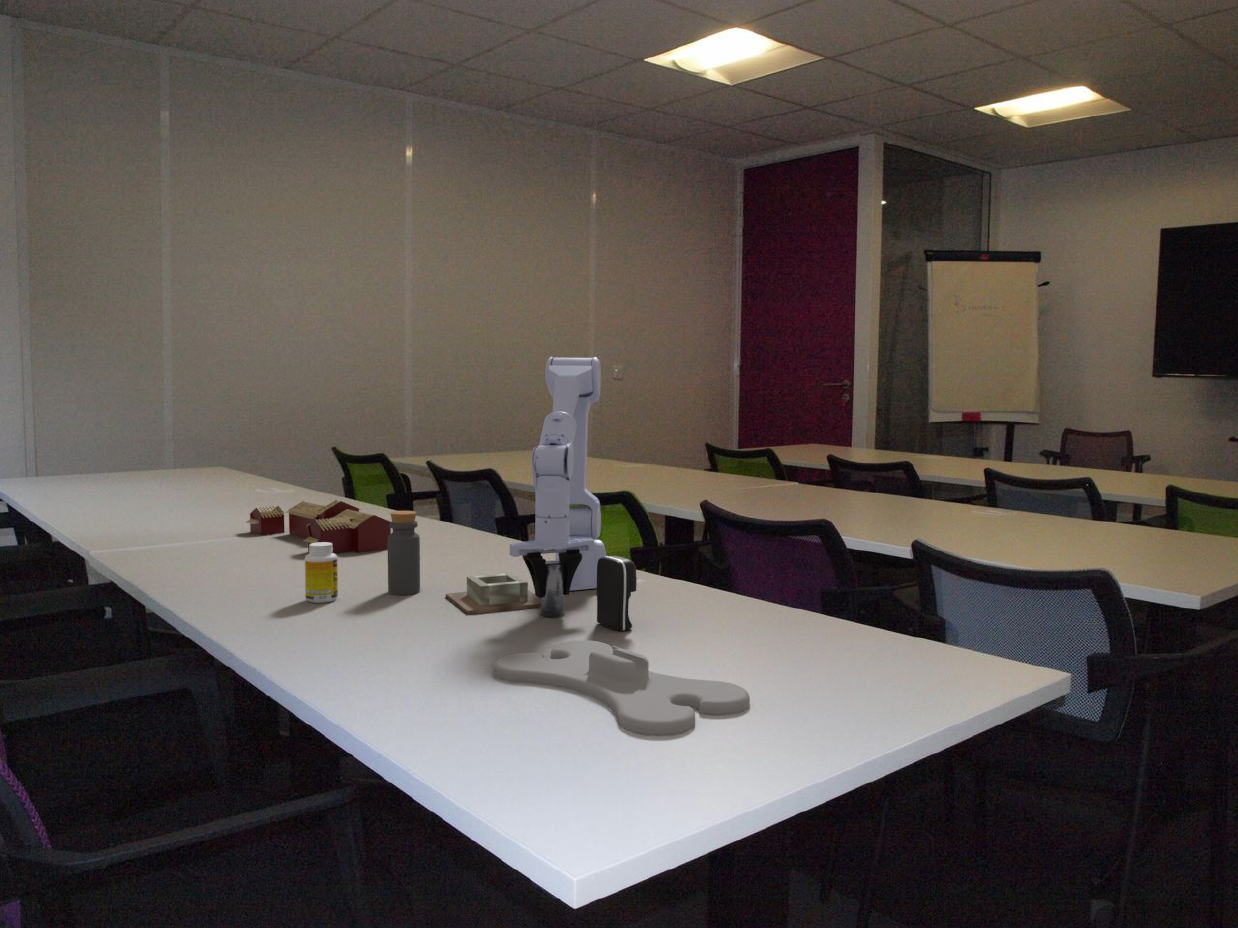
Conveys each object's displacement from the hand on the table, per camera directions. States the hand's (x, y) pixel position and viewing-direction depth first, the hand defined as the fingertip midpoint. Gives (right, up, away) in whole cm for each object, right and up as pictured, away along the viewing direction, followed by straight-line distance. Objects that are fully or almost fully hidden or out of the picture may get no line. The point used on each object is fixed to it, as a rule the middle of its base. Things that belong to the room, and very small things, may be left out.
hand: (552, 595), depth 160 cm
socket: (-11, -2, +10) cm, 15 cm away
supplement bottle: (-42, -2, +9) cm, 43 cm away
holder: (+11, -8, -36) cm, 39 cm away
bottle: (-29, -2, +16) cm, 33 cm away
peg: (0, -3, 0) cm, 3 cm away
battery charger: (+11, -4, -7) cm, 14 cm away
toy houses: (-63, +3, +71) cm, 95 cm away
